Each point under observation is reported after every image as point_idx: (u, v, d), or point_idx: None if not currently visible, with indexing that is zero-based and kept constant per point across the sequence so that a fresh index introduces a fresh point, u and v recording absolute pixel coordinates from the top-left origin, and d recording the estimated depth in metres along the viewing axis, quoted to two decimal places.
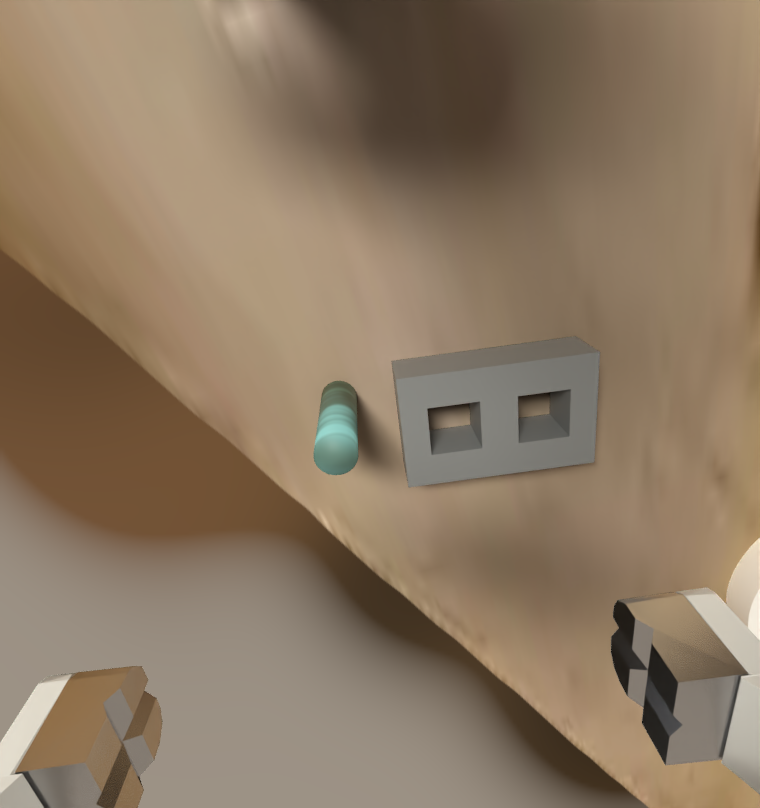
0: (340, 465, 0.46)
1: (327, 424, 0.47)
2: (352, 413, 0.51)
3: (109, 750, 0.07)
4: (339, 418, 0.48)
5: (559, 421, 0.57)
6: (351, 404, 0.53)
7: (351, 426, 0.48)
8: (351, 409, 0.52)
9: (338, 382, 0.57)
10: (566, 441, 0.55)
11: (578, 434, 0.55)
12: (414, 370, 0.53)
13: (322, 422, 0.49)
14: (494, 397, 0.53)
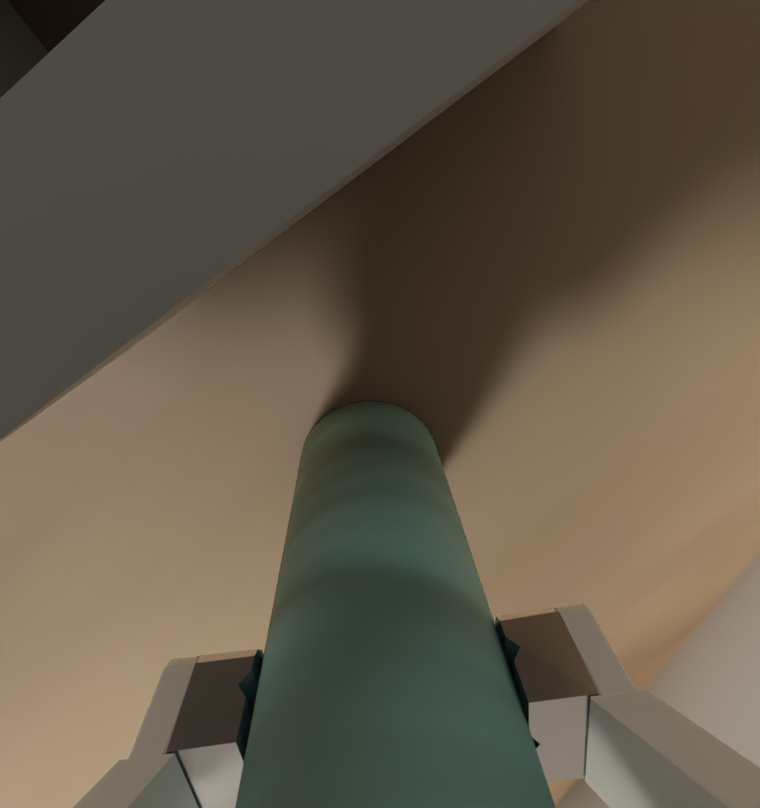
0: None
1: None
2: (264, 673, 0.07)
3: (248, 731, 0.07)
4: None
5: None
6: (279, 581, 0.09)
7: None
8: (268, 639, 0.08)
9: None
10: None
11: None
12: None
13: None
14: None
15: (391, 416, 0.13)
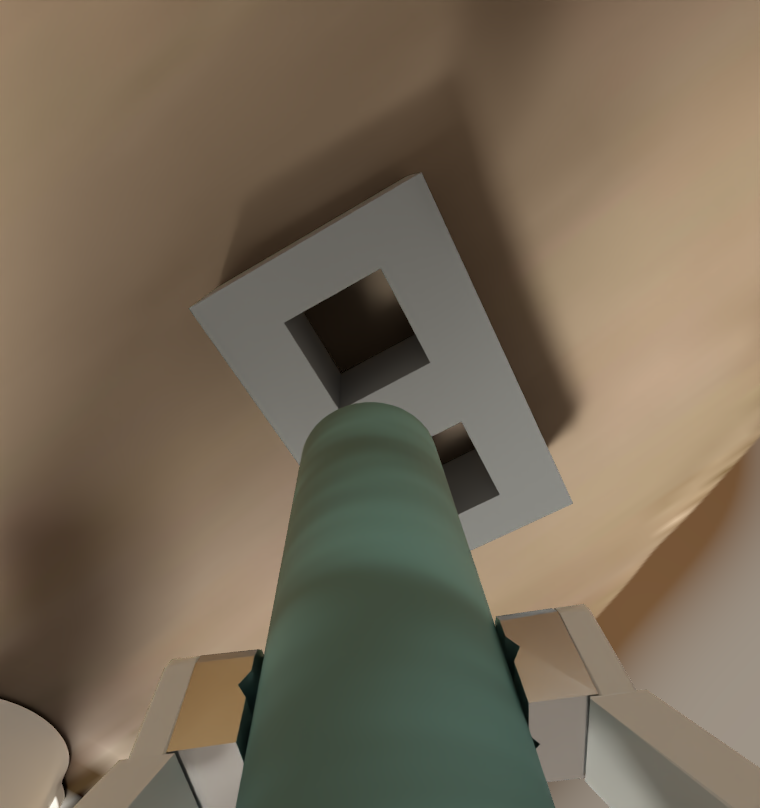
0: None
1: None
2: (264, 673, 0.07)
3: (248, 731, 0.07)
4: None
5: None
6: (279, 582, 0.09)
7: None
8: (268, 639, 0.08)
9: None
10: (393, 268, 0.25)
11: (369, 251, 0.25)
12: None
13: None
14: None
15: (391, 417, 0.13)
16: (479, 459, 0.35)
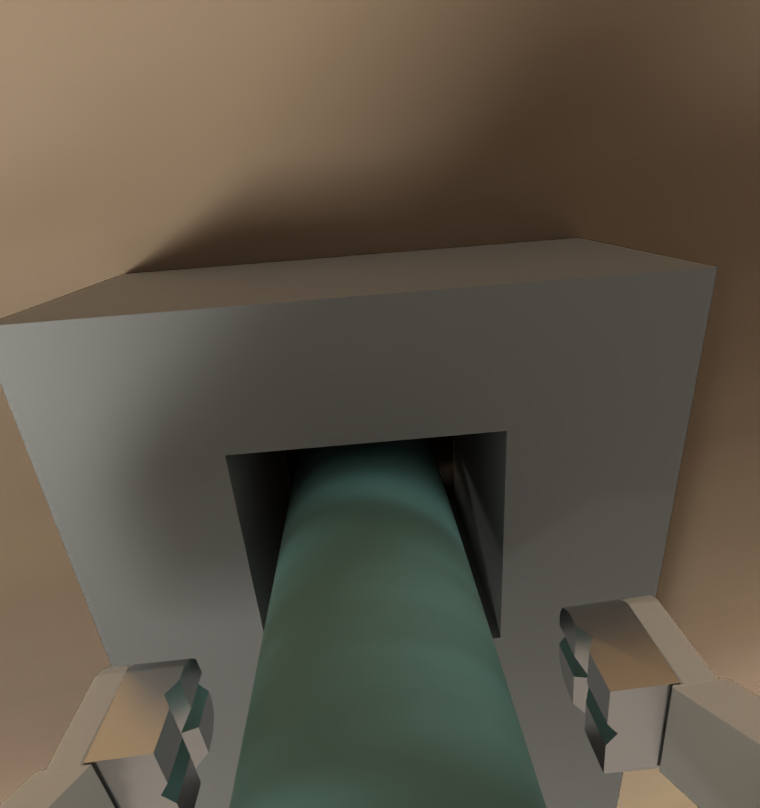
0: None
1: None
2: (276, 582, 0.09)
3: (172, 741, 0.07)
4: None
5: None
6: (286, 521, 0.11)
7: None
8: (278, 561, 0.10)
9: None
10: (534, 443, 0.10)
11: (503, 385, 0.10)
12: None
13: None
14: None
15: None
16: None
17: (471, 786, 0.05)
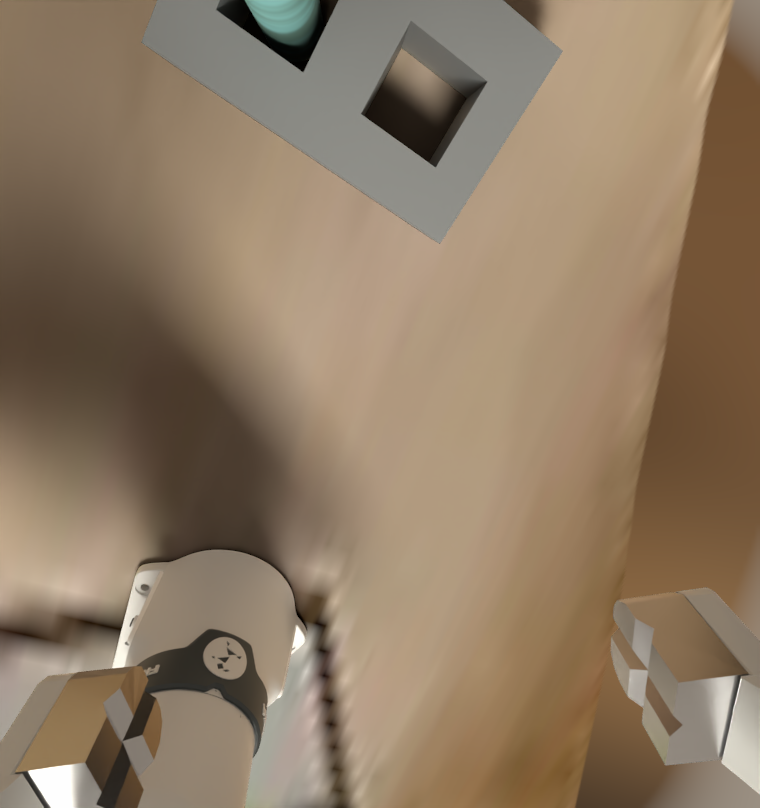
0: None
1: (283, 6, 0.25)
2: (249, 7, 0.27)
3: (109, 750, 0.07)
4: (263, 11, 0.25)
5: None
6: (257, 21, 0.29)
7: None
8: (253, 14, 0.28)
9: (289, 59, 0.34)
10: None
11: None
12: None
13: (297, 8, 0.26)
14: (337, 102, 0.31)
15: None
16: (470, 96, 0.35)
17: None
